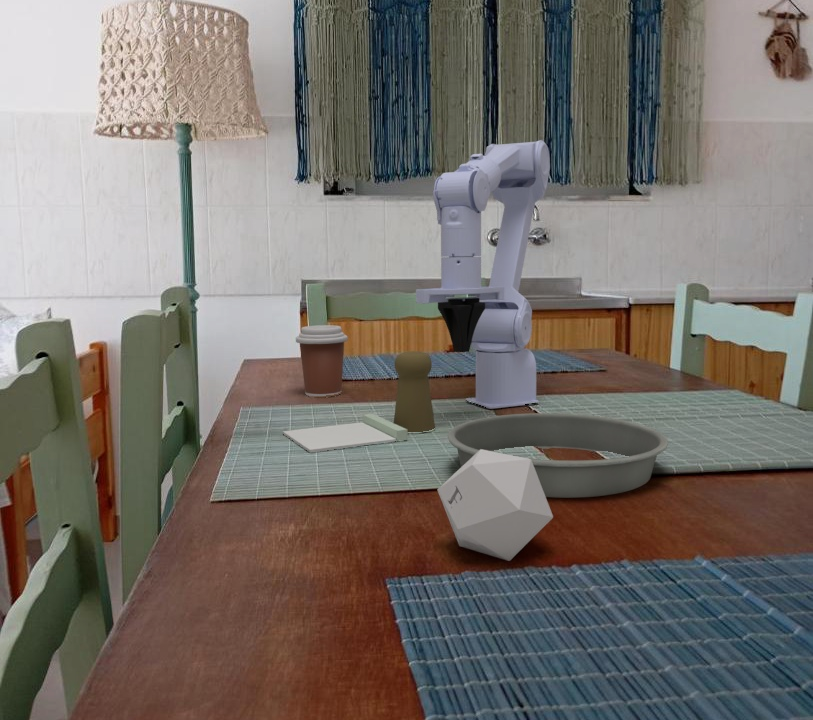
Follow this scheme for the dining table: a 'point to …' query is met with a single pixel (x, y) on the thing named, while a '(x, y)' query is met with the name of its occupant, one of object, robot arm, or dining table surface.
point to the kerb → (386, 426)
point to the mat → (337, 437)
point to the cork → (413, 392)
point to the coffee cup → (322, 359)
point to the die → (495, 503)
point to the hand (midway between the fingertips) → (461, 351)
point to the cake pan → (573, 434)
